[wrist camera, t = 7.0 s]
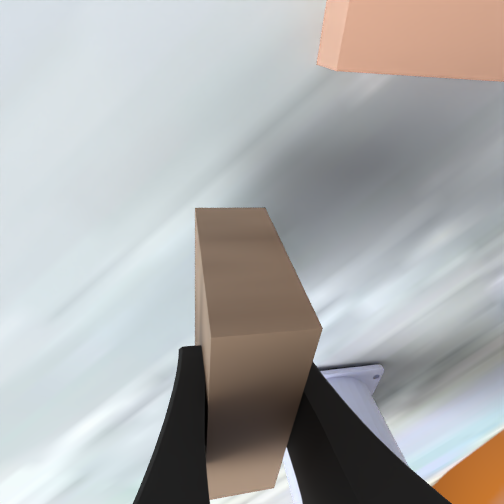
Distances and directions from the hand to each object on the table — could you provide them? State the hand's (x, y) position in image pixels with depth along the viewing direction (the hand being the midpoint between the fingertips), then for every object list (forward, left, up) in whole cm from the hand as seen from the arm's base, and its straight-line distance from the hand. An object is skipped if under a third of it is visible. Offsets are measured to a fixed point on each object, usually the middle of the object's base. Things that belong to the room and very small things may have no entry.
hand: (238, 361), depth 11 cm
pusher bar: (0, 0, -3) cm, 3 cm away
